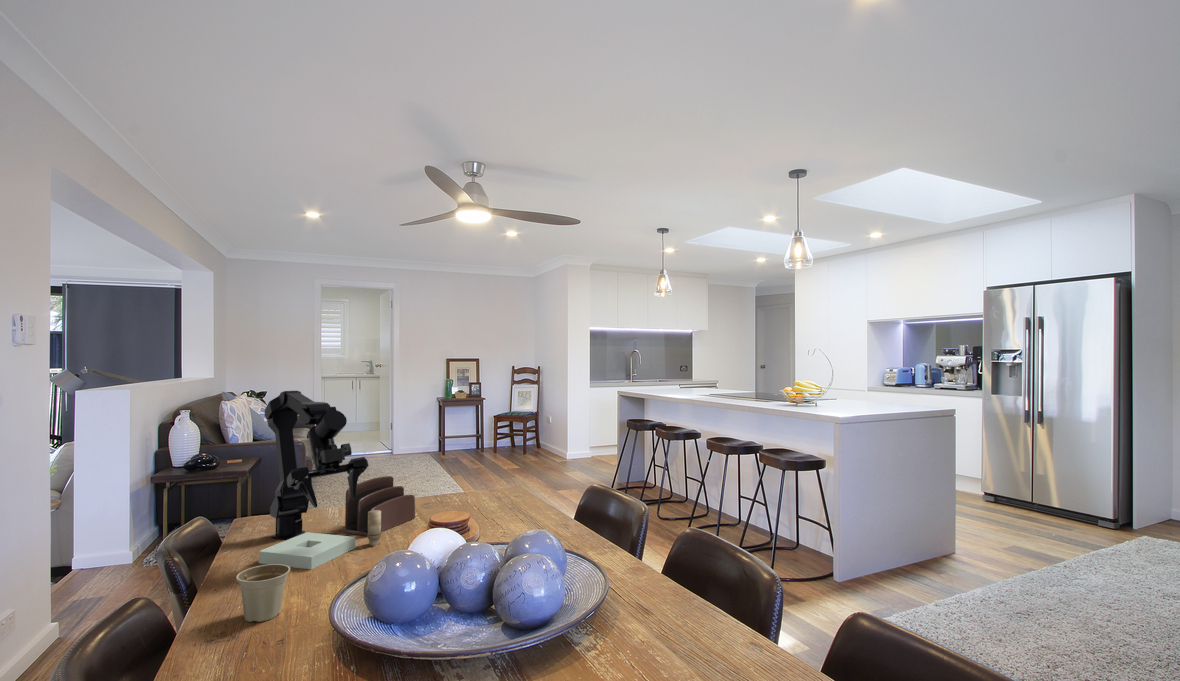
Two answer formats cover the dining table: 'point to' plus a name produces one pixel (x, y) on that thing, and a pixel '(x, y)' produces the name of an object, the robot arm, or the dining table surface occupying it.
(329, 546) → the board
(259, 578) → the flower pot
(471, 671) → the dining table surface
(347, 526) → the letter holder
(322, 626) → the dining table surface
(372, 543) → the peg
